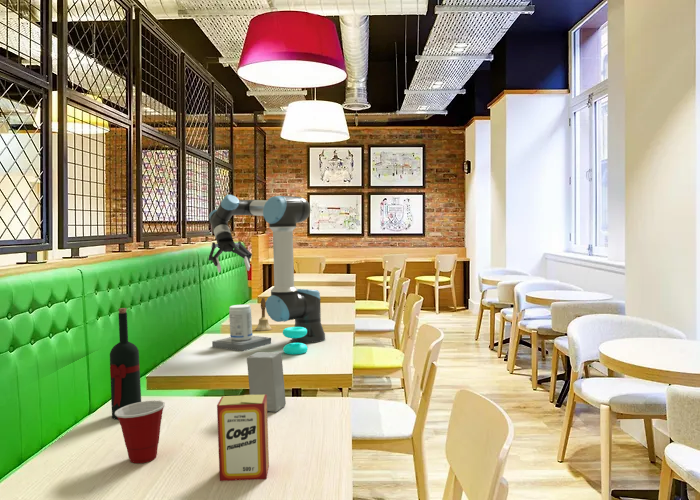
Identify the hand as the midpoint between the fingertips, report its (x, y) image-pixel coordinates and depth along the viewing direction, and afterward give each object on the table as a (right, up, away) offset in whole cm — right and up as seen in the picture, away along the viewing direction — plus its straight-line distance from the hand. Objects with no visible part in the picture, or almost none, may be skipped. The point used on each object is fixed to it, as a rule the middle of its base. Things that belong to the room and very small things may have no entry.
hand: (234, 269), depth 272 cm
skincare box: (+29, -36, -102) cm, 112 cm away
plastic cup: (+5, -38, -137) cm, 142 cm away
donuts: (+30, -33, -27) cm, 52 cm away
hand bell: (+9, -31, +31) cm, 45 cm away
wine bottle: (-10, -38, -106) cm, 113 cm away
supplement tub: (+5, -30, -9) cm, 32 cm away
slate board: (+5, -33, -9) cm, 34 cm away
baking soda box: (+30, -38, -146) cm, 154 cm away
